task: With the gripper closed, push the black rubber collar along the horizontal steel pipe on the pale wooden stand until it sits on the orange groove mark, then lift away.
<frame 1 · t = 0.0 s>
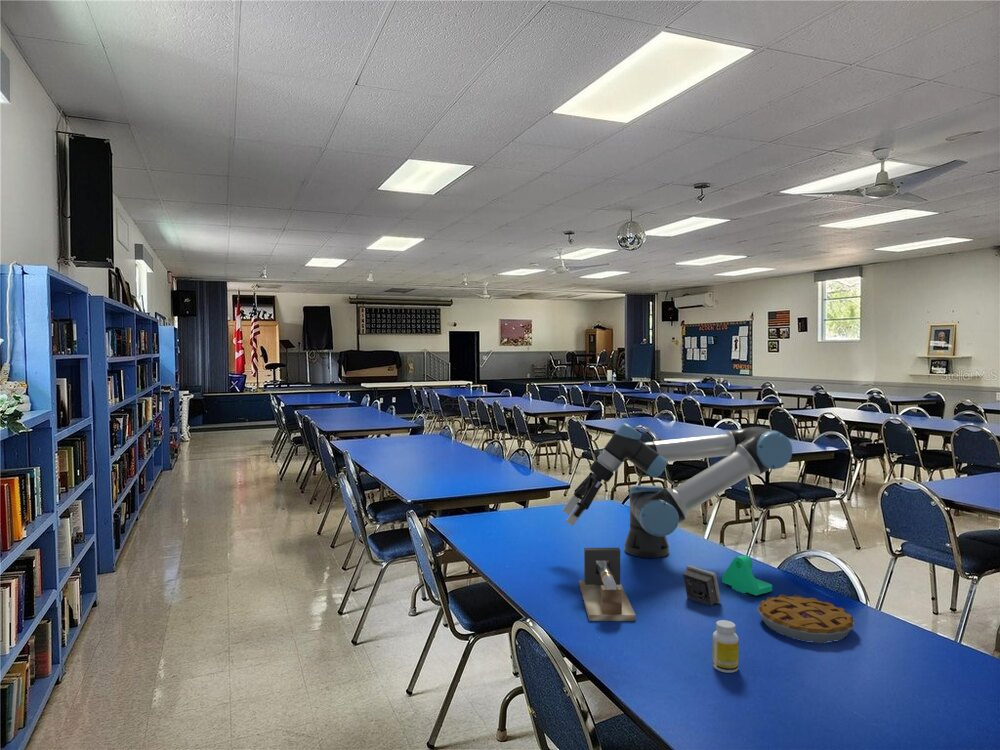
hand: (567, 518, 206), 15 cm above the table, tool tilted 35°, fingers open, 13 cm apart
electrical switch: (701, 602, 175), on the table
pie: (804, 627, 159), on the table
pipe stand: (605, 601, 175), on the table
pipe: (605, 573, 175), point 8 cm above the table
collar: (602, 566, 181), point 8 cm above the table, slide at -6.0 cm
camera mount: (747, 590, 184), on the table
supplement bottle: (725, 668, 138), on the table
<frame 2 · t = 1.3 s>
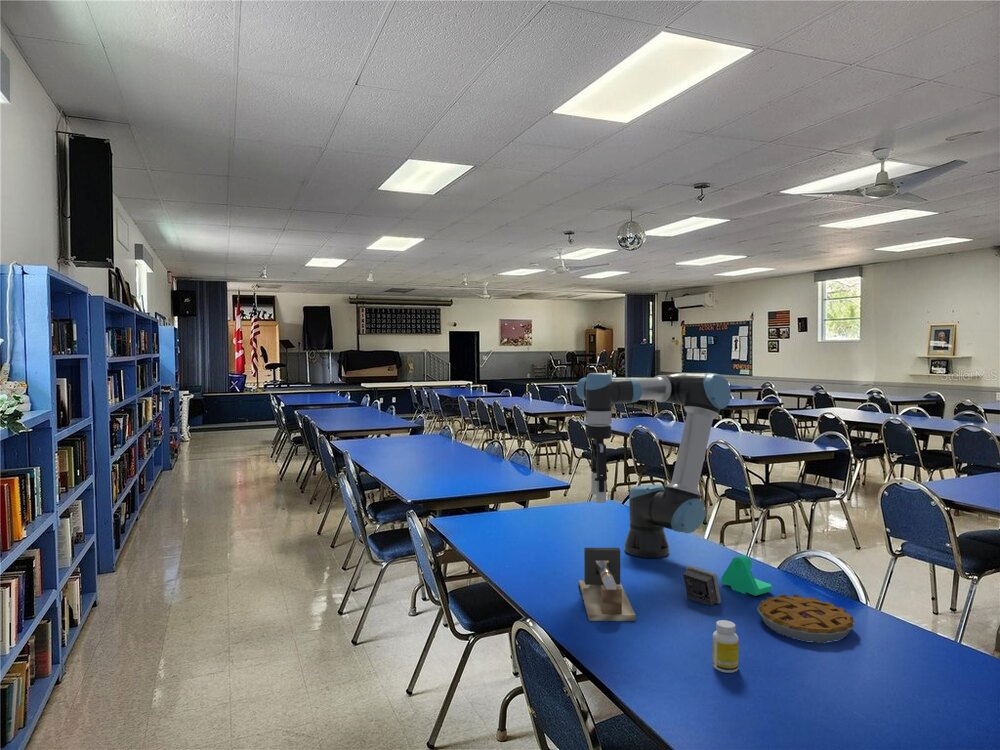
hand: (598, 498, 187), 26 cm above the table, tool pointing down, fingers open, 11 cm apart
nothing on the table moved.
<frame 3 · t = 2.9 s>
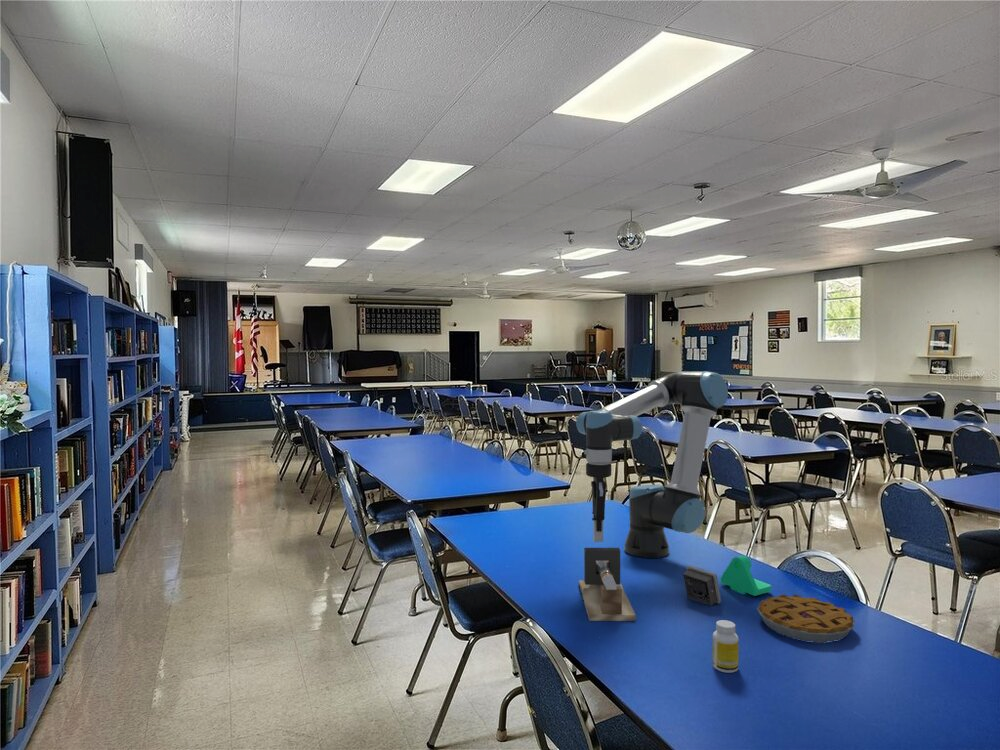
hand: (598, 541, 187), 13 cm above the table, tool pointing down, fingers closed
nothing on the table moved.
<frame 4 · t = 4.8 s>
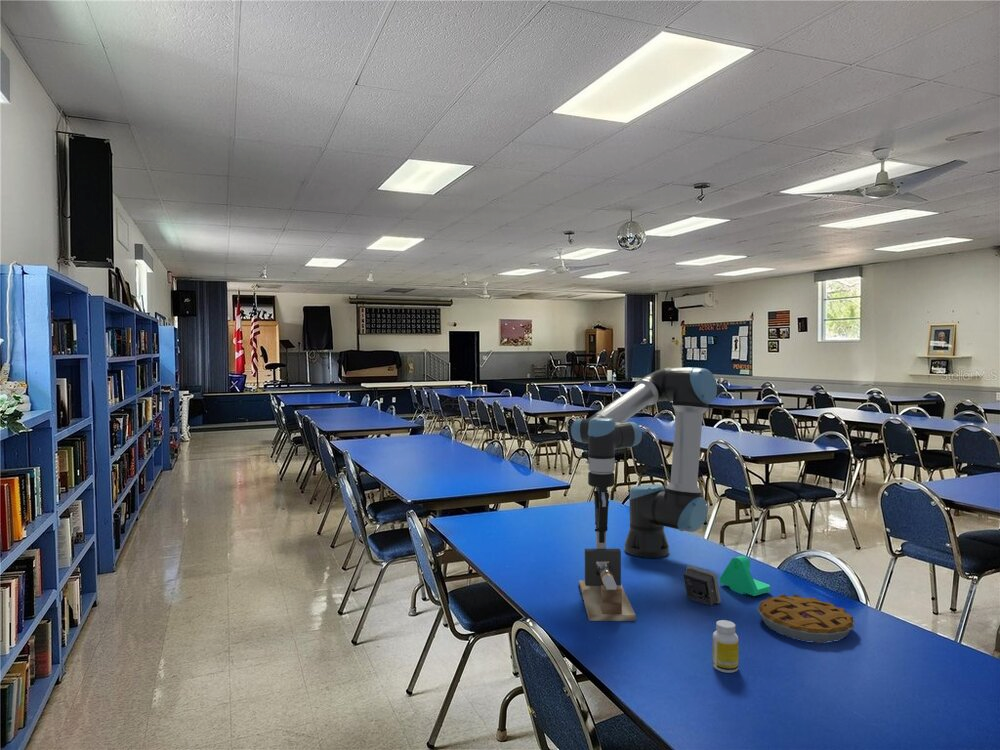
hand: (601, 552, 182), 12 cm above the table, tool pointing down, fingers closed
collar: (602, 567, 180), point 8 cm above the table, slide at -5.1 cm, touching gripper
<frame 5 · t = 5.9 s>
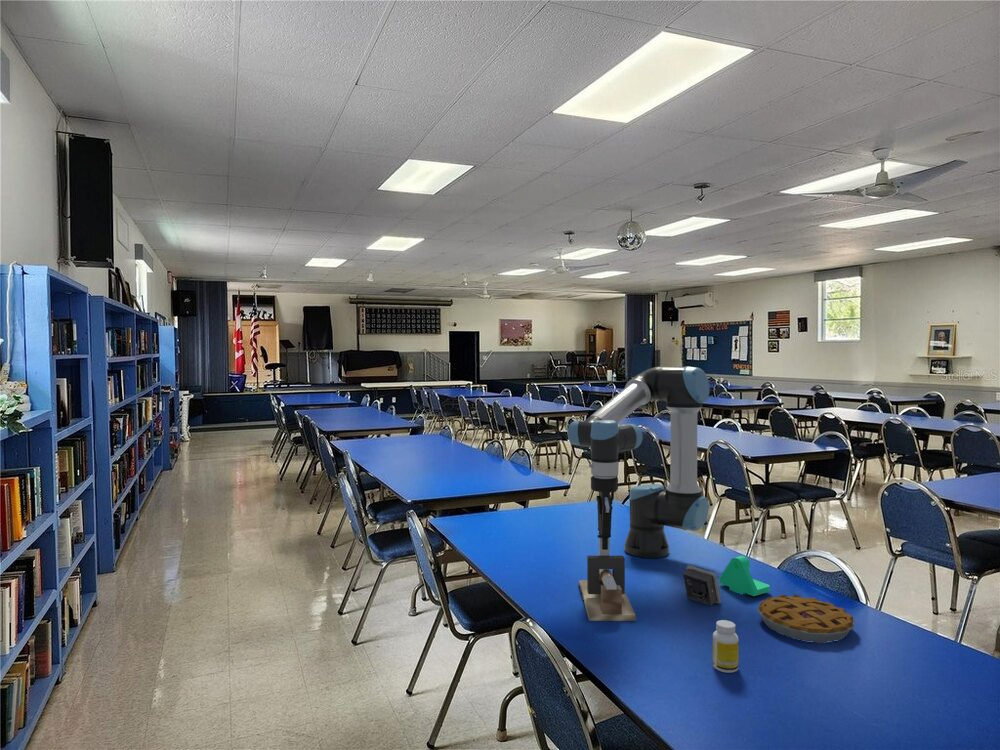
hand: (604, 559, 176), 12 cm above the table, tool pointing down, fingers closed
collar: (605, 574, 174), point 8 cm above the table, slide at 1.1 cm, touching gripper
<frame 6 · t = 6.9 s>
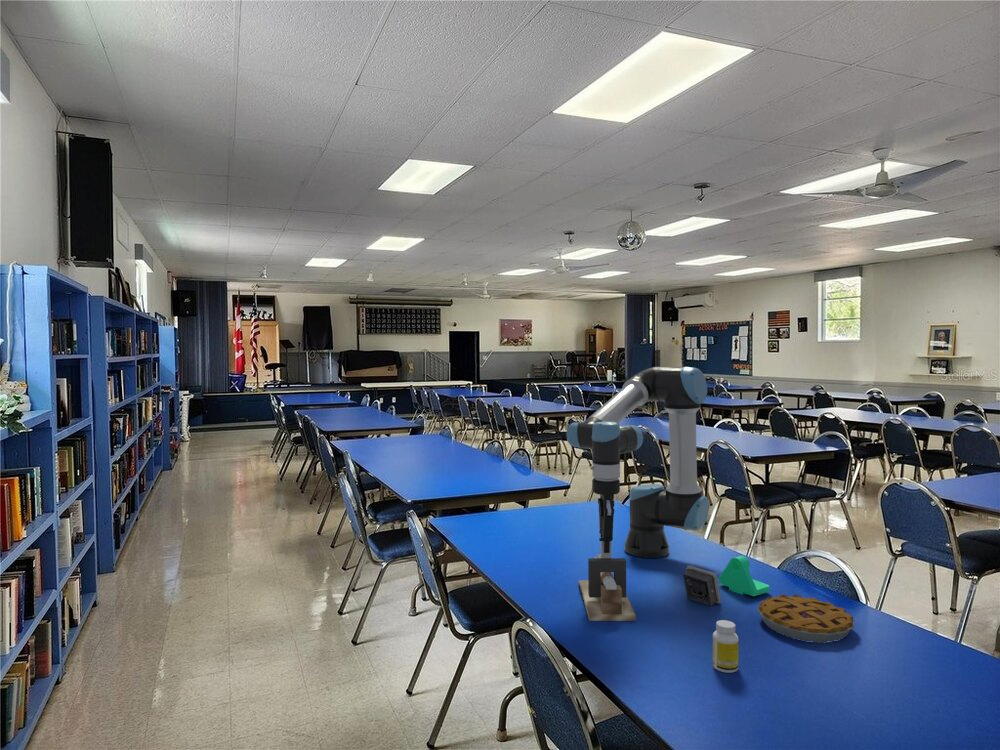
hand: (605, 563, 173), 11 cm above the table, tool pointing down, fingers closed
collar: (607, 577, 171), point 8 cm above the table, slide at 3.4 cm, touching gripper
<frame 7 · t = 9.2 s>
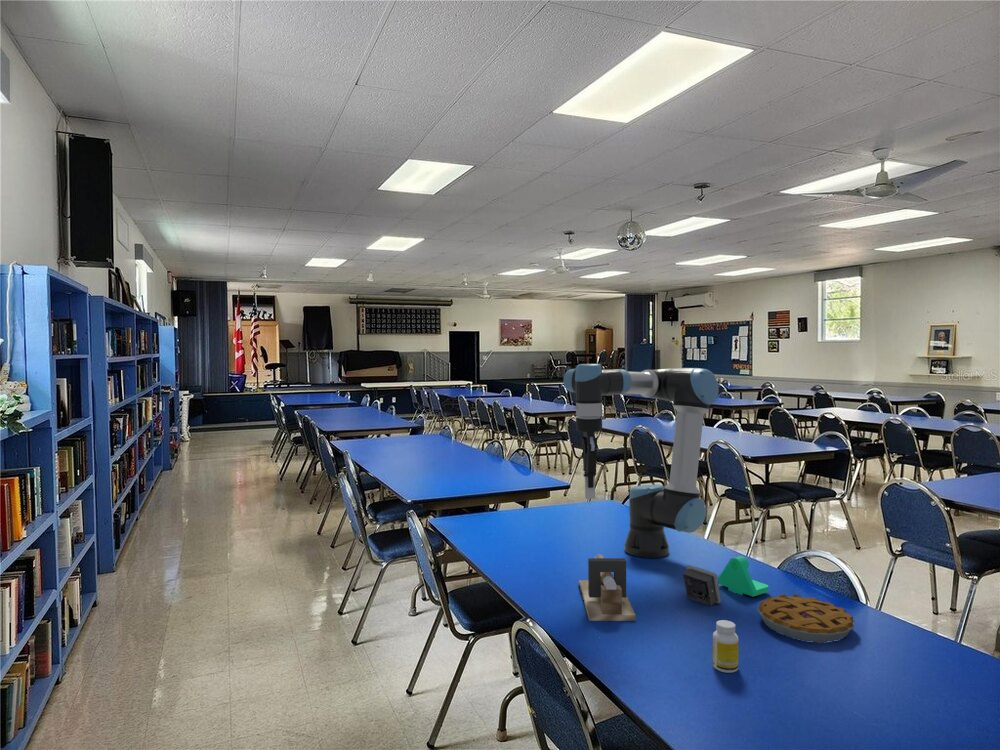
hand: (590, 497, 182), 27 cm above the table, tool pointing down, fingers closed
collar: (607, 577, 171), point 8 cm above the table, slide at 3.4 cm
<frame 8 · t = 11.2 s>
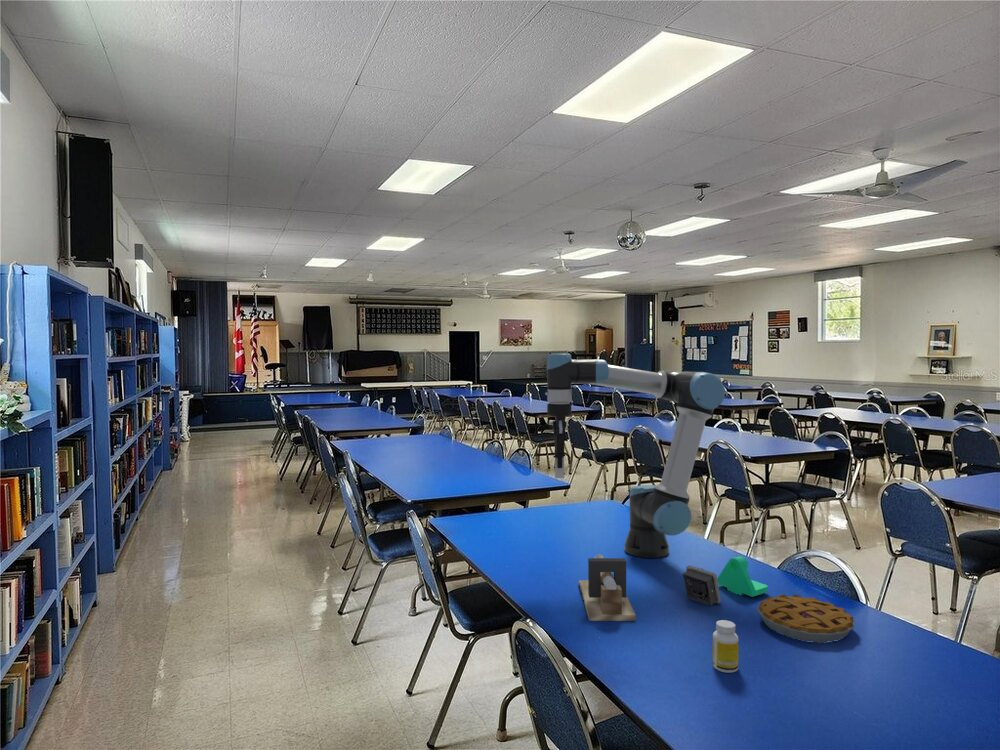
hand: (559, 477, 197), 30 cm above the table, tool pointing down, fingers closed
at the end: collar slide at 3.4 cm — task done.
